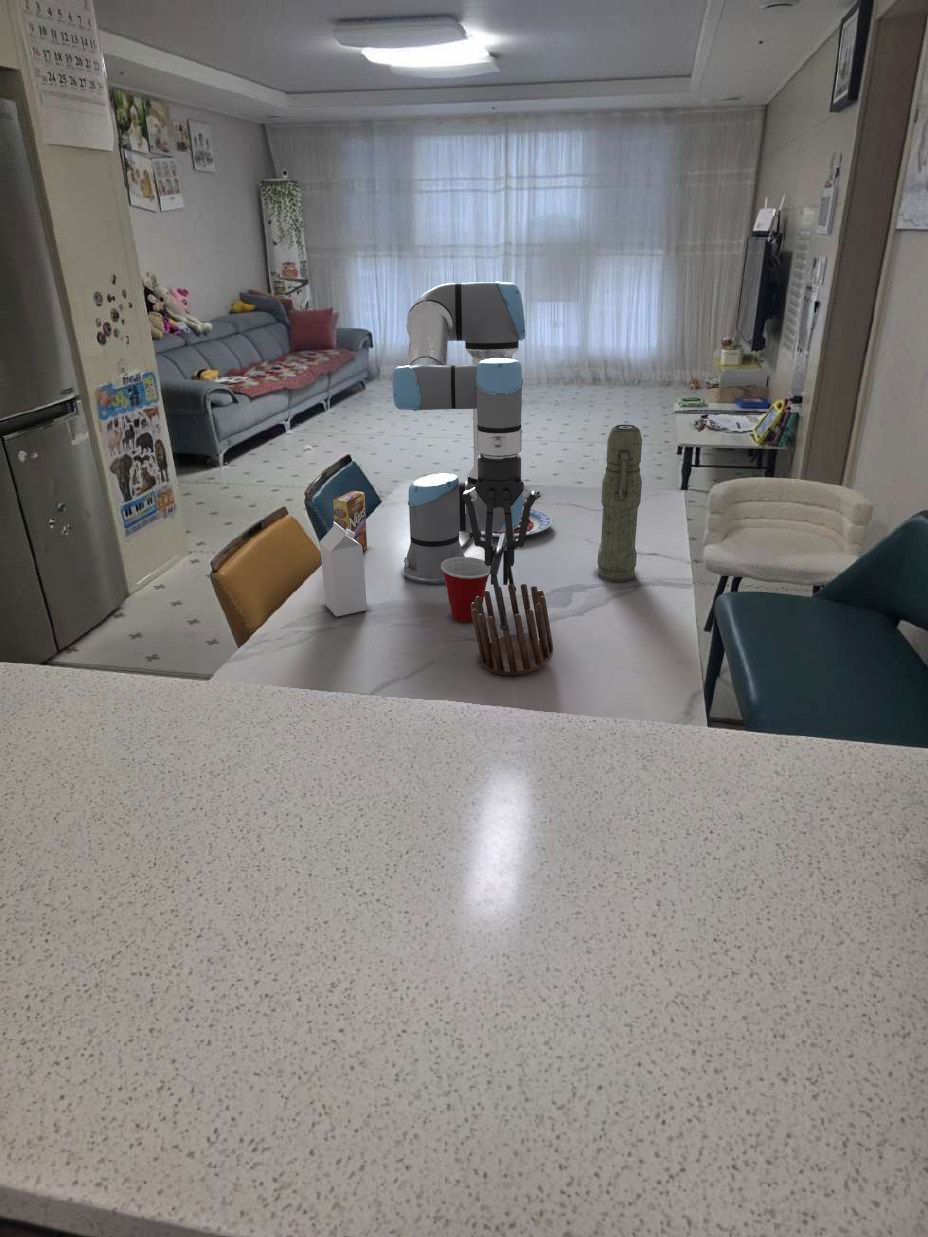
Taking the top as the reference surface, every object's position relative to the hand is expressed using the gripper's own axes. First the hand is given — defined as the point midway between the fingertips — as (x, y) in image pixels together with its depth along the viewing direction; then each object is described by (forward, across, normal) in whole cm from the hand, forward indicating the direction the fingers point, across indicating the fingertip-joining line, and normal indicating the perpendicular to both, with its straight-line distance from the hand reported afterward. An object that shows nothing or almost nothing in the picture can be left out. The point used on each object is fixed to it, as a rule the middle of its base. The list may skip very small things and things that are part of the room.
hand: (499, 581), depth 150 cm
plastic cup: (+16, -8, +19) cm, 27 cm away
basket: (+5, -5, 0) cm, 8 cm away
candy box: (+16, -42, +56) cm, 72 cm away
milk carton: (+16, -35, +22) cm, 45 cm away
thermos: (+16, +25, +46) cm, 54 cm away
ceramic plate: (+16, -4, +78) cm, 80 cm away
